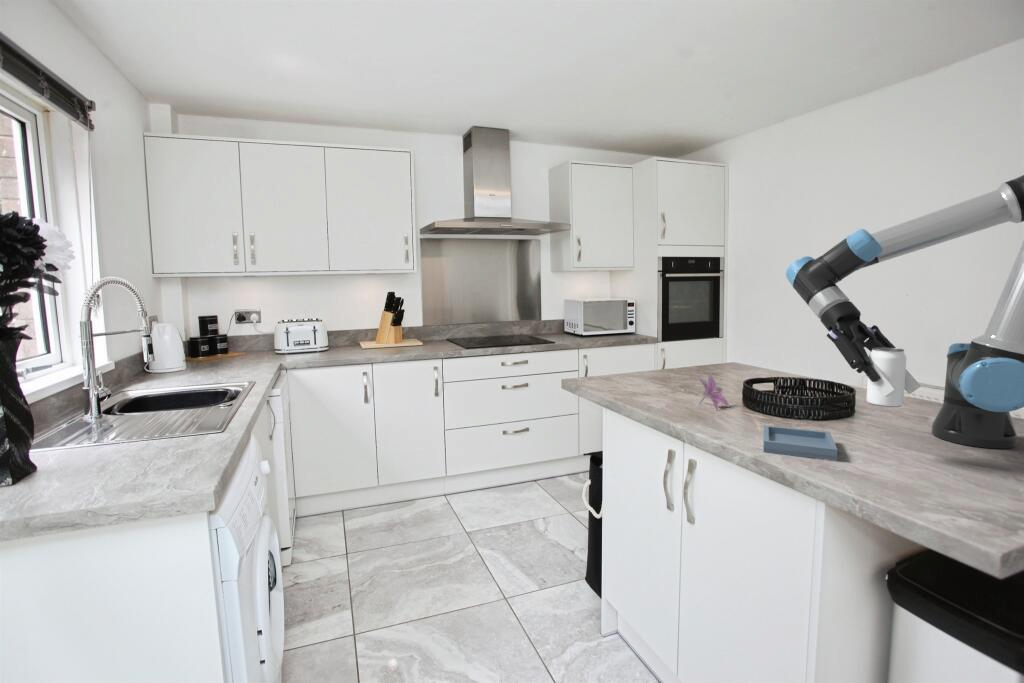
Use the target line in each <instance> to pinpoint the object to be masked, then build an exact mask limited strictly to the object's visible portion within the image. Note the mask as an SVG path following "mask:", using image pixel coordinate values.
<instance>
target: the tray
mask: <svg viewBox="0 0 1024 683" xmlns="http://www.w3.org/2000/svg"><path fill="white" fill-rule="evenodd" d="M763 453H769V454H775V455H777V454H778V455H784V456H785V455H786V456H794V457H801V456H802V458H808V457H810V458H809V459H816V458H818V460H824V459H828V460H827V461H832V460H834V461H833V462H837V461H838V448H837V445H836V443H835V440H834V439H833V435H832V434H831V432H830V431H822V430H813V429H805V428H803V429H802V428H795V427H793V428H792V427H784V426H783V427H782V426H774V425H765V424H764V425H763Z"/></svg>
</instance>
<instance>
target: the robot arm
mask: <svg viewBox="0 0 1024 683" xmlns="http://www.w3.org/2000/svg"><path fill="white" fill-rule="evenodd" d="M1008 222H1011V223H1015V224H1019V223H1023V222H1024V174H1023V175H1020V176H1018V177H1015V178H1014V179H1011V180H1008V181H1005V182H1003V183H1000V185H999V186H998V188H997V189H996V190H993V191H990V192H987V193H985V194H981V195H979V196H976V197H972V198H970V199H968V200H964V201H962V202H959V203H956V204H953V205H951V206H948V207H944V208H943V209H938V210H935V211H934V212H931V213H928V214H925V215H922V216H918V217H917V218H913V219H911V220H907V221H904V222H902V223H899V224H897V225H893V226H890V227H888V228H885V229H881V230H879V231H876V232H874V233H870V232H869V231H867V230H866V229H865V228H861V229H858V230H856V231H855V232H853V233H852V234H849V235H847V236H846V237H845V238H843V239H842V240H841V241H840V242H838V243H837V244H836V245H834V246H833V247H831V248H830V249H829V250H827V251H826V252H825V253H823V254H822V255H820V256H819V257H817V258H814V257H812V256H808V255H806V256H802V257H801V258H799V259H798V258H797V259H796V260H794V261H793V262H792V263H791V264H790V265H789V266H788V267H787V268H786V271H785V276H786V279H787V280H788V282H789V283H790V284H791V286H792V287H791V288H793V290H795V292H797V294H798V295H799V296H800V298H801V299H802V300H803V301H804V302H805V304H806V305H808V307H809V308H810V309H811V310H812V312H813V313H814V315H816V317H817V318H818V319H819V320H820V322H821V324H823V326H824V327H825V328H826V330H827V331H828V333H827V334H826V337H827V338H828V339H829V340H830V341H831V342H832V343H833V344H834V345H835V347H836V348H837V349H838V351H839V353H840V354H841V355H842V356H843V358H844V359H845V361H846V362H847V365H849V367H850V368H851V369H852V370H855V371H856V372H857V373H859V374H861V373H863V372H864V374H865V375H866V376H867V378H868V377H869V379H870V380H871V381H872V382H873V383H874V384H875V386H876V387H877V388H878V389H879V390H880V392H881V393H882V394H883V395H884V397H887V396H888V395H890V394H891V393H893V392H894V391H895V390H897V388H896V387H895V386H894V385H893V384H892V382H891V381H890V380H889V379H888V378H887V376H886V375H885V374H884V373H883V372H882V370H881V369H880V368H879V367H878V366H877V365H876V364H873V365H872V366H871V364H872V363H871V361H870V359H869V355H868V353H867V351H866V349H867V350H869V351H870V353H871V352H872V348H897V347H896V346H895V345H894V344H893V343H892V342H891V341H890V340H888V338H887V337H886V336H885V335H884V334H883V333H882V331H881V330H880V328H879V326H878V325H875V324H873V325H872V326H871V327H870V326H867V325H866V324H865V323H864V322H863V321H861V316H862V315H861V314H862V313H861V311H860V310H859V309H858V308H857V306H856V305H855V304H854V303H853V301H850V298H849V297H848V295H846V293H844V292H843V290H842V289H840V287H839V286H838V285H837V284H838V283H839V282H841V281H843V279H845V278H846V277H848V276H850V275H851V274H853V273H855V272H857V271H859V270H861V269H863V268H864V269H865V268H868V267H870V266H873V265H877V264H879V263H883V262H885V261H889V260H892V259H894V258H898V257H901V256H903V255H904V256H905V255H907V254H910V253H913V252H917V251H919V250H920V251H921V250H923V249H927V248H929V247H932V246H933V247H934V246H935V245H939V244H941V243H945V242H948V241H951V240H954V239H958V238H960V237H965V236H967V235H970V234H973V233H976V232H980V231H983V230H985V229H988V228H991V227H992V228H993V227H996V226H998V225H1001V224H1005V223H1008ZM1009 272H1010V273H1009V275H1008V277H1007V279H1006V282H1005V285H1004V286H1003V289H1002V291H1001V294H1000V297H999V299H998V301H997V303H996V306H995V308H994V311H993V313H992V315H991V317H990V320H989V322H988V325H987V328H986V330H985V332H984V333H983V334H982V335H980V336H978V337H975V338H973V339H971V341H970V343H968V342H967V343H965V342H964V343H963V342H962V343H961V342H959V343H958V342H956V343H952V344H951V345H949V346H948V352H947V354H946V358H947V359H946V360H947V361H946V371H945V372H946V373H945V382H944V384H945V385H944V394H943V403H942V406H941V407H940V410H939V411H938V413H937V415H936V417H935V419H934V420H933V422H932V424H931V434H932V435H933V436H935V437H936V438H939V439H940V440H944V441H947V442H952V443H954V444H959V445H965V446H971V447H978V448H987V449H1012V448H1016V447H1017V442H1018V435H1017V432H1016V429H1015V426H1014V422H1013V419H1012V417H1011V412H1014V411H1017V410H1020V409H1023V408H1024V240H1023V241H1022V243H1021V246H1020V248H1019V251H1018V253H1017V256H1016V257H1015V261H1014V263H1013V265H1012V267H1011V270H1010V271H1009ZM865 348H866V349H865ZM921 387H922V385H921V384H920V383H919V381H917V380H916V378H914V376H913V375H912V374H911V373H910V372H909V371H908V369H907V368H906V372H905V387H904V391H906V393H907V394H908V395H909V394H913V393H914V392H915V391H917V390H918V389H919V388H921Z"/></svg>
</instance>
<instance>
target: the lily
mask: <svg viewBox="0 0 1024 683" xmlns="http://www.w3.org/2000/svg"><path fill="white" fill-rule="evenodd" d="M698 380H699V382H700V383H701V384H702V386H703V388H704V390H703V392H702V396H703V398H702V399H701V400H700V402H699V403H698V405H699V404H701V403H702V402H703V401H704V399H705V398H708V399H710V400H711V401H712V403H713V405H714V406H713V407H714V408H715V410H716V411H718V410H719V404H722V405H724V406H726V407H728V408H729V406H730V403H729V401H728V400H727V398H726V397H725V396H724V395H722V394H723V391H724V389H723V388H722V387H720V386H718V385H717V382H716V380H715V378H714V376H713V375H712V373H711V372H710V371H709V372H708V376H707V381H706V380H704V379H703V378H702V377H698ZM730 407H731V406H730ZM717 409H718V410H717Z"/></svg>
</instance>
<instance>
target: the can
mask: <svg viewBox="0 0 1024 683" xmlns="http://www.w3.org/2000/svg"><path fill="white" fill-rule="evenodd" d="M868 357H869V359H870V361H871V363H872V364H871V366H872V365H873V364H876V365H877V366H878V367H879V368H880V369H881V370H882V372H883V373H884V374H885V375H886V376H887V378H888V379H889V380H890V381H891V382H892V384H893V385H894V386H895V387H896V388H897V390H895V391H894V392H893V393H891V394H890V395H888V396H887V397H884V395H883V394H882V393H881V392H880V390H879V389H878V388H877V387H876V386H875V384H874V383H873V382H872V381H871V380H870V379H869V377H868V376H867V386H866V402H867V403H868V405H869V404H870V405H872V406H877V407H886V408H900V407H902V406H903V405H904V399H905V389H904V387H905V372H906V369H907V356H906V354H905V349H904V348H897V347H896V348H872V352H871V351H870V353H869V355H868Z"/></svg>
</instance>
